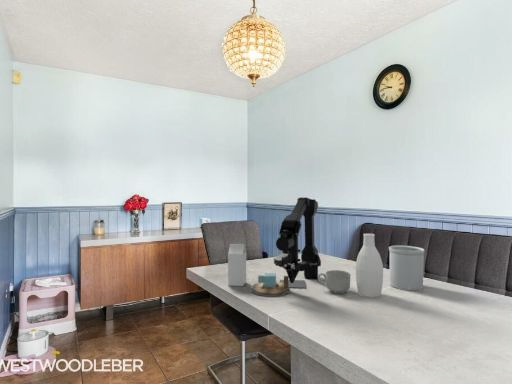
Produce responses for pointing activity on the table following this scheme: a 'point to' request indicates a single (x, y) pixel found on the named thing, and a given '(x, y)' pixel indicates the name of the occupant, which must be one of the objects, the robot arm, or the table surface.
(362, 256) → the bottle
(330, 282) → the teacup
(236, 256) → the milk carton
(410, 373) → the table surface
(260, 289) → the turntable
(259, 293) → the turntable base
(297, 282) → the mat
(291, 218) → the robot arm
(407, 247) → the utensil holder
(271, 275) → the blue cube with post
